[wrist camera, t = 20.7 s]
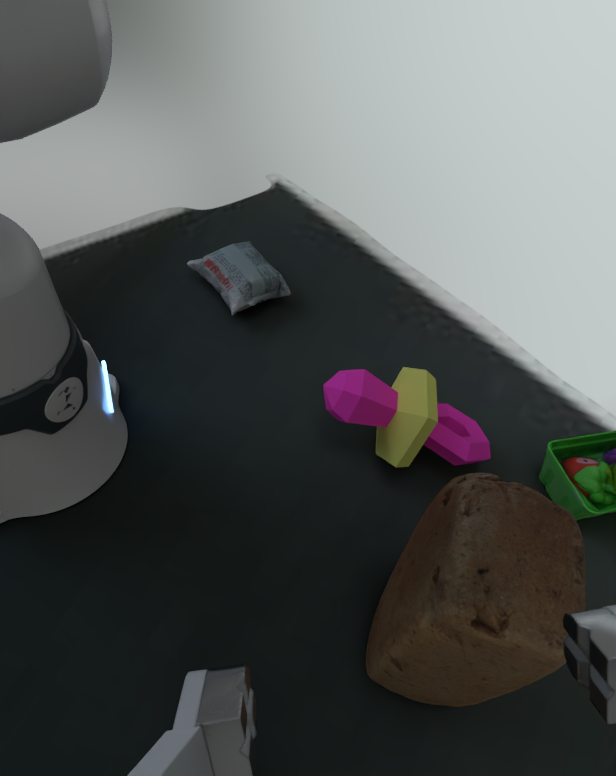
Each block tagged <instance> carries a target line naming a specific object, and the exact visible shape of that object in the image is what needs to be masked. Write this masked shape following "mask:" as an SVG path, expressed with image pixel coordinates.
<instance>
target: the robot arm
mask: <svg viewBox="0 0 616 776" xmlns="http://www.w3.org/2000/svg"><path fill="white" fill-rule="evenodd" d="M111 57H112V33H111V24H110V17H109V11H108V7H107V2H106V0H0V143H2V142H7V141H12V140H18V139H22V138H24V137H27V136H29V135H32V134H34V133H37V132H39V131H41V130H44V129H46V128H49V127H51V126H54V125H56V124H58V123H61V122H63V121H65V120H67V119H69V118H71V117H73V116H75V115H78V114H80V113H82V112H84V111H86V110H88V109H90V108H92V107H94V106H95V105H97V103H98V102H99V100H100V97H101V95H102V93H103V91H104V89H105V85H106V82H107V79H108V75H109V70H110V64H111ZM102 367H103V369H102ZM102 367H101V365H100V363H99V361H98V359H97V357H96V355H95V353H94V351H93V349H92V347H91V346H90V344H89V343H88V342H87V341H85V340H82V337H81V334H80V332H79V330H78V328H77V327H76V325H75V324H74V322H73V320H72V318H71V317H70V315H69V314H68V313H67V312H66V311H65V310H64V309H63V308H62V306H61V304H60V301H59V299H58V296H57V293H56V291H55V288H54V286H53V283H52V281H51V278H50V276H49V273H48V271H47V268H46V265H45V263H44V260H43V258H42V255H41V253H40V250H39V248H38V246H37V245H36V243H35V242H34V240H33V239H32V238H31V237H30V236H29V234H28V233H27V232H26V231H25V230H24V229H23V228H21V227H20V226H19V225H18V224H17V223H15V222H14V221H12V220H11V219H9V218H8V217H6V216H4V215H2V214H0V523H2V522H5V521H7V520H9V519H13V518H19V517H28V516H38V515H44V514H48V513H52V512H56V511H59V510H62V509H64V508H67V507H69V506H71V505H74V504H76V503H78V502H79V501H81V500H83V499H85V498H86V497H88V496H89V495H91V494H92V493H93V492H95V491H96V490H97V489H98V488H100V487H101V486H102V485H103V484H104V483H105V482H106V481H107V480H108V479H109V478H110V476H111V475H112V474H113V473H114V471H115V470H116V468H117V467H118V465H119V463H120V462H121V460H122V458H123V455H124V452H125V449H126V445H127V438H128V432H127V425H126V421H125V418H124V416H123V414H122V412H121V410H120V407H119V404H118V399H119V384H118V382H117V380H116V378H115V377H114V376H113V375H111V374H108V373H107V367H106V363H105V360H104V361H102ZM563 628H564V629H565V630H566V632H567V633H568V636H567V637H566V639H565V640H564V642H563V647H564V656H565V659H566V662H567V665H568V667H569V669H570V671H571V673H572V675H573V677H574V678H575V679H576V681H577V682H578V684H580V685H582V686H583V687H585V688H587V689H589V690H590V701H591V702H592V703H593V705H594V706H595V707H596V709H597V710H598V712H599V713H600V714H601V716H602V717H603V718H604V720H605V721H606V723H607V724H614V723H616V605H611V606H606V607H603V608H595V609H589V610H583V611H577V612H571V613H565V615H564V617H563ZM250 678H251V676H250V671H249V667H248V665H247V664H241V665H233V666H225V667H218V668H210V669H207V670H198V671H190V672H188V674H187V675H186V677H185V681H184V685H183V689H182V693H181V697H180V701H179V705H178V709H177V713H176V717H175V722H174V726H173V730H170V731H166V732H165V733H164V734H163V736H162V737H161V738H160V739H159V740H158V741H157V742H156V744H155V745H154V746H153V747H152V748H151V749H150V750H149V752H148V753H147V754H146V755H145V756H144V757H143V758H142V760H141V761H140V762H139V763H138V764H137V765H136V766H135V768H134V769H133V770H132V771H131V772H130V773H129V774H128V776H254V768H255V748H254V743H253V739H254V738H255V736H256V734H257V709H256V701H255V695H254V691H253V690H252V689H251V688H250Z"/></svg>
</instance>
